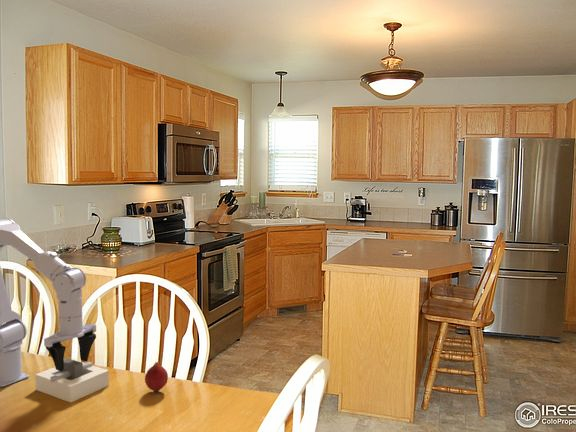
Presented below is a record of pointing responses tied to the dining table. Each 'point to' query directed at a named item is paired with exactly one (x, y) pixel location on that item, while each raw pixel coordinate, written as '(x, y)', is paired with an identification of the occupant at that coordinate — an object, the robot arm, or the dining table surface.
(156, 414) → the dining table surface
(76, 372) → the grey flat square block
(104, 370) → the shallow white tray
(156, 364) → the onion
